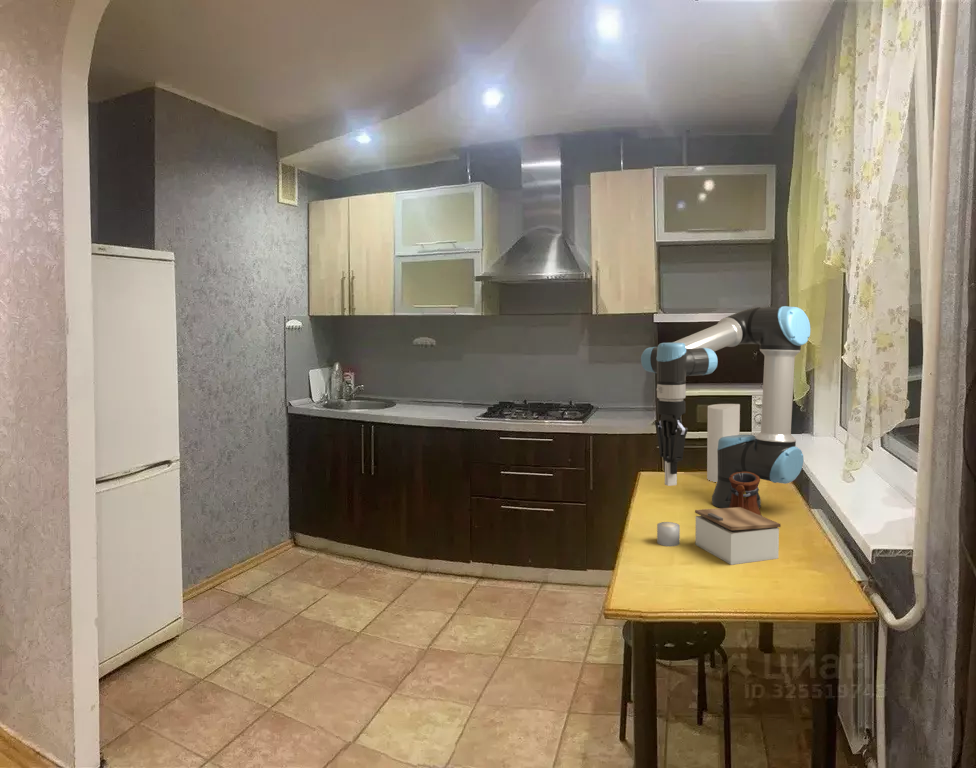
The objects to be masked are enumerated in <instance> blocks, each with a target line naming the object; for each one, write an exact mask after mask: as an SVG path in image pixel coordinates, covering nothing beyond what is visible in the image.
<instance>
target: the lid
mask: <svg viewBox="0 0 976 768" xmlns="http://www.w3.org/2000/svg"><path fill="white" fill-rule="evenodd" d="M694 513H695V514H697V515H698V516H703V517H705V518H707V519H709V520H711V521H713V522H715V523H717V524H719V525H721V526H723V527H725V528H727V529H730V530H745V529H759V528H774V527H778V528H781V525H782V524H781V523H780V522H777V521H775V520H771V519H770V518H767V517H765V516H763V515H762V516H760V515H758V514H756V513H753V512H751V511H749V510H746V509H744V508H741V507H736V508H719V507H718V508H705V509H704V508H702V509H694Z"/></svg>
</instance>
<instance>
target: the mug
mask: <svg viewBox="0 0 976 768" xmlns="http://www.w3.org/2000/svg"><path fill="white" fill-rule="evenodd" d="M729 480H730V482H731V486H730V490H731V492H732V495H731V502H730V506H729V508H736V507H741V508H744V509H746V510H749V511H751V512H753V513H756V514H758V515H760V516H763V515H762V513H761V511H760V508H759V507H758V504H757V495H756V494H757V493H759V491H760V489H759V484H760V482H761V479H760V478H759V476H757V475H756V474H754V473H751V472H737V473H733V474H732V475H730V477H729Z"/></svg>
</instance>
